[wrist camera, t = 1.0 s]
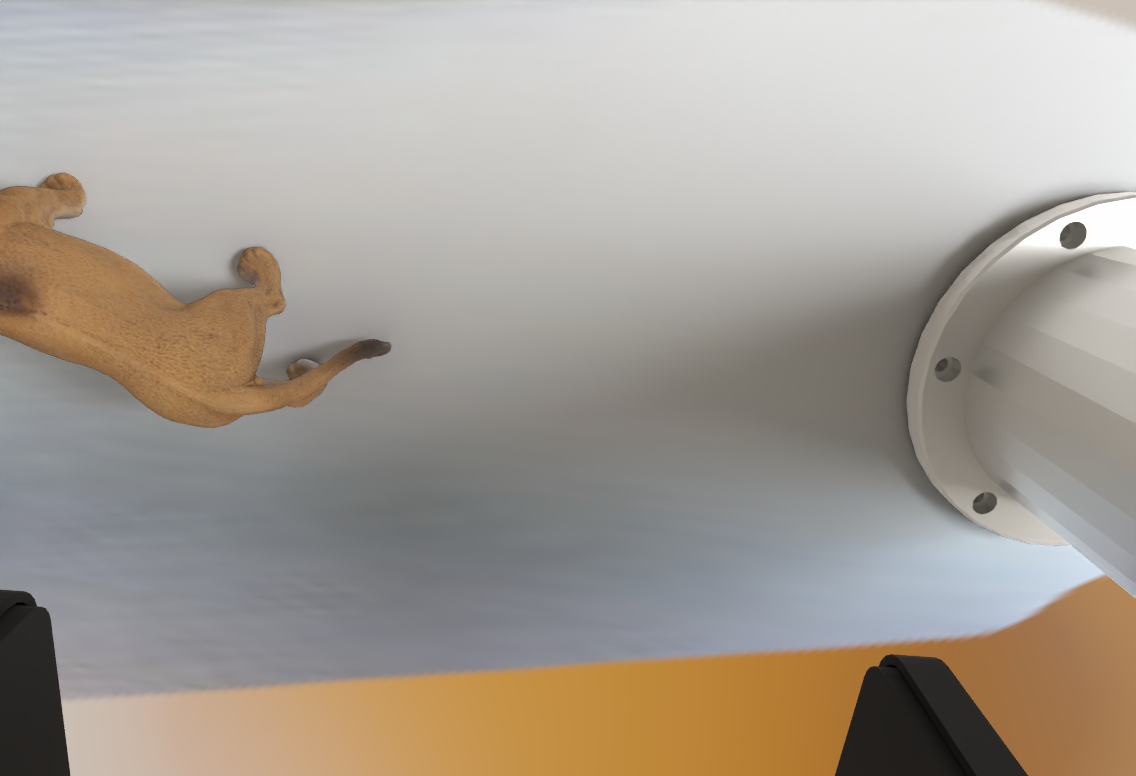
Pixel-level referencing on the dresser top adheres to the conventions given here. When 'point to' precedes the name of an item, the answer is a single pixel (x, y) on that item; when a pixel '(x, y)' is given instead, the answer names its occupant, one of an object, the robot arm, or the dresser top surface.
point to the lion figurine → (146, 318)
